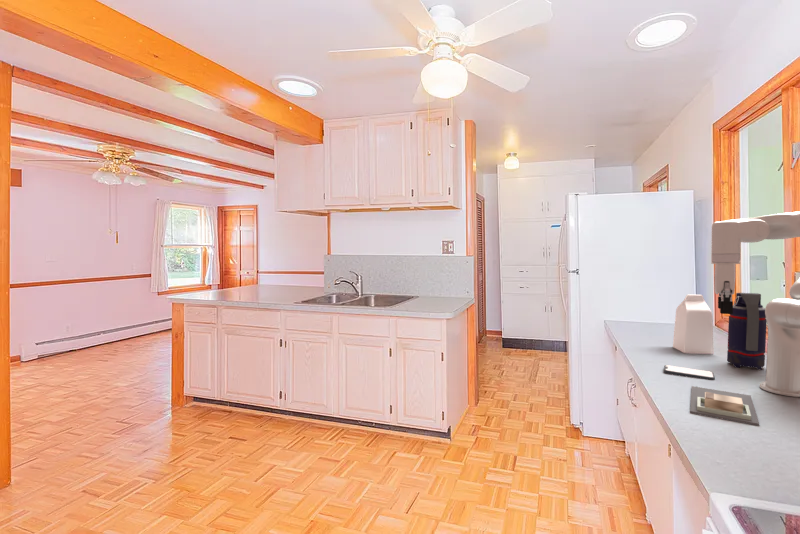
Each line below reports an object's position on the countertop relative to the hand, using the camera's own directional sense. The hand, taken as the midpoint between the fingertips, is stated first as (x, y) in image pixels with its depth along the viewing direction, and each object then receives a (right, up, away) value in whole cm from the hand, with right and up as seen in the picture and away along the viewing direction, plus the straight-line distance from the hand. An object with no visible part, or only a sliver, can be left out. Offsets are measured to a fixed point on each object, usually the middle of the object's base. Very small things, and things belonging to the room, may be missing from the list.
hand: (725, 311), depth 140 cm
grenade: (+34, -26, +33) cm, 54 cm away
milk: (+30, -25, +59) cm, 70 cm away
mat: (-5, -29, -6) cm, 30 cm away
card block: (-9, -29, -11) cm, 32 cm away
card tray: (-9, -29, -11) cm, 33 cm away
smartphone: (+5, -27, +25) cm, 37 cm away
